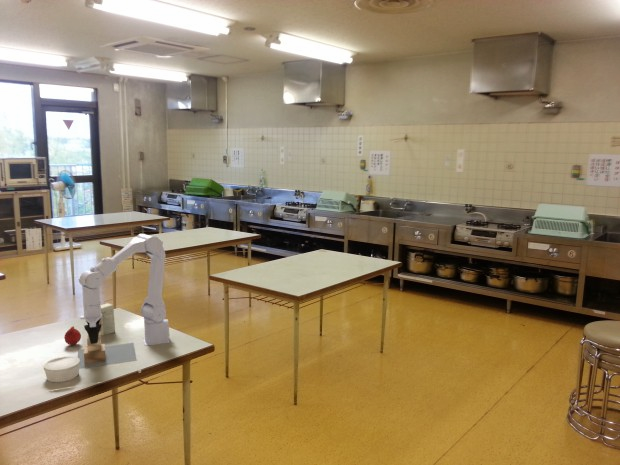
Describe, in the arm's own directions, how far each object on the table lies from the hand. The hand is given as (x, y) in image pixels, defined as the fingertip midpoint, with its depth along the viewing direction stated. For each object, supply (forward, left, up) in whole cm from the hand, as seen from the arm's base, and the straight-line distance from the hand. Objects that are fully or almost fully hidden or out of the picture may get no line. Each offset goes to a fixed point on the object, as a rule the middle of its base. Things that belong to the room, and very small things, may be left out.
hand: (94, 339), depth 178 cm
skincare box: (-4, -27, -8) cm, 28 cm away
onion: (+8, -17, -8) cm, 20 cm away
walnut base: (0, 0, -8) cm, 8 cm away
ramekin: (+10, +11, -8) cm, 17 cm away
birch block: (0, 0, -3) cm, 3 cm away
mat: (-4, -2, -8) cm, 9 cm away
